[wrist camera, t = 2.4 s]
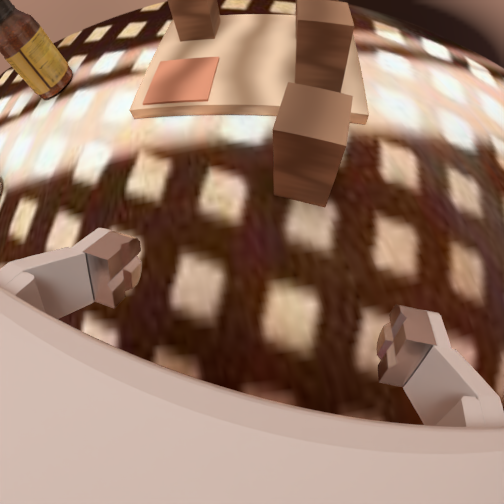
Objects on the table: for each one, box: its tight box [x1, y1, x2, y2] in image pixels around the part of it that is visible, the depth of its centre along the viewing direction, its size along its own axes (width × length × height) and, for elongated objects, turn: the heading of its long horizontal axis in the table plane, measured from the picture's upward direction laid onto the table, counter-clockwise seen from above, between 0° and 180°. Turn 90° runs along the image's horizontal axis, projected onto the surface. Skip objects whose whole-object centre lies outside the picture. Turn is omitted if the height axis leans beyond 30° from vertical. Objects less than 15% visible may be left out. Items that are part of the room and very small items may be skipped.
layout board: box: [130, 0, 369, 124], centre depth 26 cm, size 24×18×10 cm
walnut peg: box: [273, 82, 353, 207], centre depth 22 cm, size 4×4×9 cm
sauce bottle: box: [0, 0, 72, 99], centre depth 24 cm, size 7×6×20 cm
